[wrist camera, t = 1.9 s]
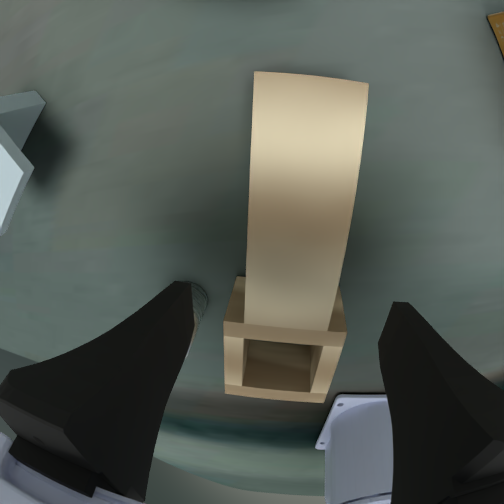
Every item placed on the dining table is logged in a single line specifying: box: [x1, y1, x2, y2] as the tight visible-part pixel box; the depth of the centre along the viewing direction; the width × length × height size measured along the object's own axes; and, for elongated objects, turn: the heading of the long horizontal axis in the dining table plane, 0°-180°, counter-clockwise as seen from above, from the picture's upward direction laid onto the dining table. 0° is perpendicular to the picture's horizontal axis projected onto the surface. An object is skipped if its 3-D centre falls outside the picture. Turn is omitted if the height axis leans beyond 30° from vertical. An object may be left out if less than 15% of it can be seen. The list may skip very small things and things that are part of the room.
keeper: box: [0, 90, 46, 236], centre depth 14 cm, size 6×5×5 cm
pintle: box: [184, 282, 208, 360], centre depth 18 cm, size 2×2×4 cm
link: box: [223, 72, 369, 403], centre depth 16 cm, size 17×6×4 cm, turn 178°
